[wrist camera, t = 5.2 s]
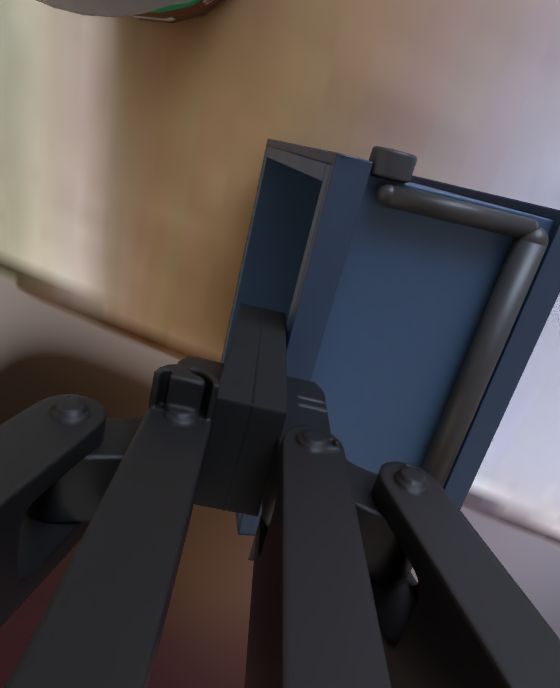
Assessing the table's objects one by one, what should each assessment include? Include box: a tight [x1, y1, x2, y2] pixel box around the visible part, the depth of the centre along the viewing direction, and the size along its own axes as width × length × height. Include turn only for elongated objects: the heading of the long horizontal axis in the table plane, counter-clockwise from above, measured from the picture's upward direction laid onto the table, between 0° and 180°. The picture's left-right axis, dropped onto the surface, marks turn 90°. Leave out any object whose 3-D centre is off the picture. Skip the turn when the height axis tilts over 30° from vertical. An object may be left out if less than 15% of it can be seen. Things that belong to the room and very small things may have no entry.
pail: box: [221, 139, 560, 536], centre depth 21 cm, size 13×8×13 cm, turn 167°
